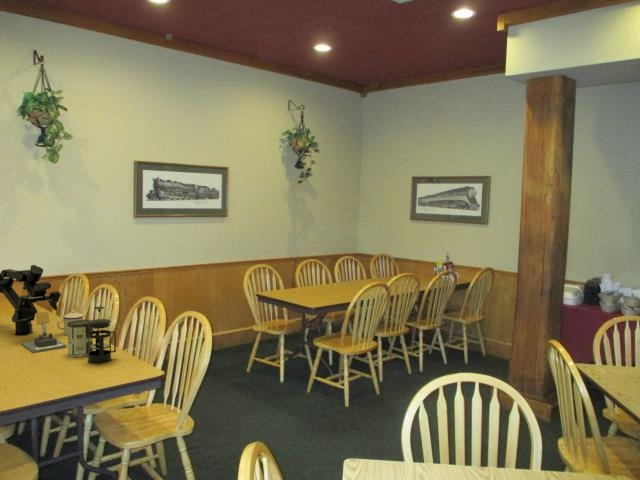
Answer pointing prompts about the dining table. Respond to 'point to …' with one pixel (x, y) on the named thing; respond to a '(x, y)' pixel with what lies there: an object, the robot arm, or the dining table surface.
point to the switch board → (32, 347)
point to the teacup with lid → (69, 320)
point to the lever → (42, 321)
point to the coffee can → (79, 338)
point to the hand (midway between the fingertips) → (47, 311)
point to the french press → (100, 341)
